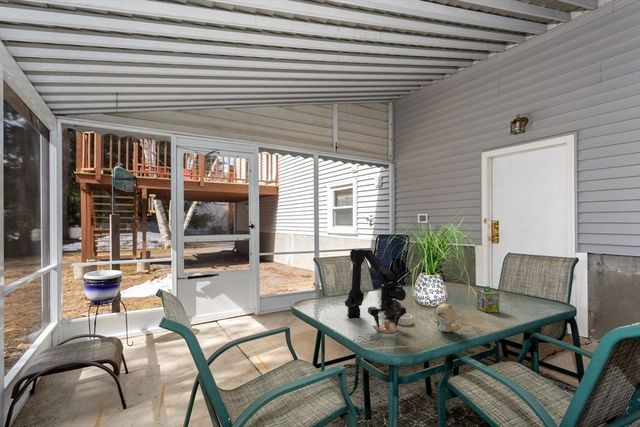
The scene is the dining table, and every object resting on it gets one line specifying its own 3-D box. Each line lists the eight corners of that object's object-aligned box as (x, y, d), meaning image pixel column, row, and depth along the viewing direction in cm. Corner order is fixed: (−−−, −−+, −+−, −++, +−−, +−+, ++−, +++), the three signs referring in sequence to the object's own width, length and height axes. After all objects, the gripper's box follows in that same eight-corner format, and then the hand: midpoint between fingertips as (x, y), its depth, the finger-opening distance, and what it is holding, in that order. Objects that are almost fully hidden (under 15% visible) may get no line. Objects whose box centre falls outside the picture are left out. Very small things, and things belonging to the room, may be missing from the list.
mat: (379, 335, 152) (379, 334, 152) (372, 327, 164) (372, 326, 164) (403, 334, 154) (403, 332, 154) (393, 325, 166) (393, 324, 166)
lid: (380, 333, 153) (380, 324, 153) (373, 326, 163) (373, 318, 163) (400, 332, 155) (400, 323, 155) (392, 325, 165) (392, 316, 165)
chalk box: (486, 313, 187) (486, 288, 188) (476, 309, 196) (476, 285, 197) (500, 312, 189) (499, 287, 189) (489, 308, 198) (488, 284, 198)
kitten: (429, 326, 165) (429, 297, 166) (447, 325, 166) (447, 297, 166) (442, 336, 150) (442, 305, 151) (462, 336, 151) (462, 305, 151)
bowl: (399, 326, 165) (399, 319, 165) (392, 321, 173) (392, 313, 174) (415, 325, 166) (415, 318, 166) (408, 320, 175) (408, 313, 175)
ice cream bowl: (402, 316, 185) (402, 321, 171) (383, 315, 188) (381, 319, 174) (402, 298, 187) (402, 301, 172) (383, 297, 190) (381, 299, 175)
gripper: (374, 301, 150) (374, 334, 150) (411, 299, 153) (411, 331, 152) (367, 295, 161) (367, 326, 161) (401, 294, 164) (401, 324, 163)
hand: (387, 327), depth 159 cm, fingers open, 9 cm apart
